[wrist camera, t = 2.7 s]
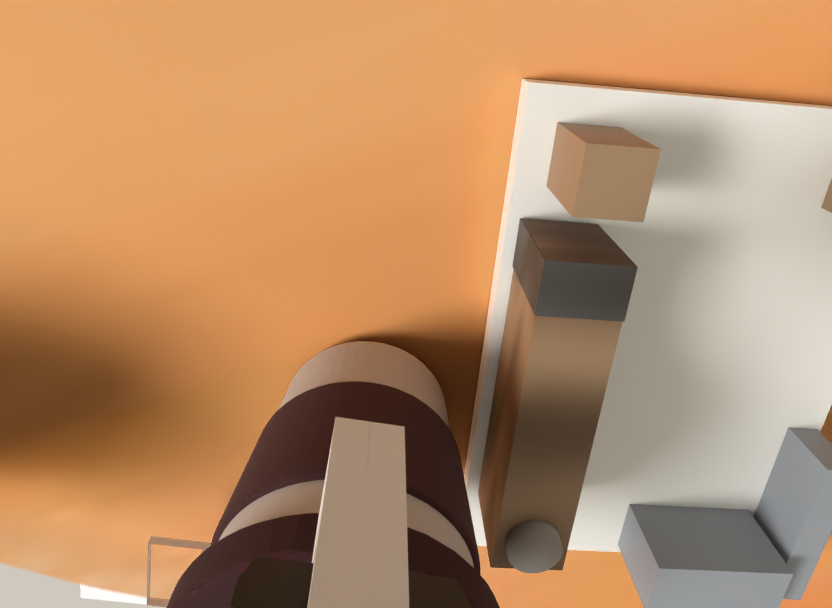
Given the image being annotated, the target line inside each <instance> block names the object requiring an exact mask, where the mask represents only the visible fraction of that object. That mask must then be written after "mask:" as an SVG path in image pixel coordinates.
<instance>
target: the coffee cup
mask: <svg viewBox="0 0 832 608" xmlns="http://www.w3.org/2000/svg"><path fill="white" fill-rule="evenodd" d="M335 417H341V418H348V419H355V420H362V421H369V422H376V423H383V424H390V425H397V426H404V427H405V463H406V502H407V540H408V573H415V574H424V575H432V576H440V577H449V578H456V580H457V582H458V583H459V585H460V587H461V589H462V591H463V592H464V594H465V596H466V598H467V599H468V601H469V603H470V608H500V607H499V605H498V603H497V601H496V599H495V596H494V594H493V592H492V591H491V589H490V587H489V586H488V584H487V583H486V582H485V580H484V579H483V578H482V577H481V576H480V561H479V554H478V549H477V543H476V538H475V533H474V527H473V522H472V517H471V511H470V506H469V501H468V496H467V490H466V485H465V480H464V474H463V469H462V464H461V458H460V454H459V450H458V447H457V444H456V441H455V439H454V437H453V435H452V433H451V431H450V427H449V421H448V415H447V410H446V404H445V399H444V395H443V392H442V390H441V387H440V385H439V383H438V382H437V380H436V378H435V376H434V375H433V374H432V372H431V371H430V370H429V369H428V368H427V367H426V366H425V365H424V364H423V363H422V362H421V361H420V360H418V359H417V358H416V357H414V356H413V355H411V354H409V353H408V352H406V351H404V350H402V349H400V348H397V347H394V346H391V345H388V344H384V343H379V342H371V341H354V342H348V343H343V344H339V345H336V346H332V347H330V348H328V349H326V350H324V351H322V352H320V353H318V354H316V355H315V356H314V357H312V358H311V359H310V360H308V361H307V362H306V363H305V364H304V365H303V366H302V367H301V368H300V369H299V371H298V372H297V373H296V375H295V376H294V378H293V380H292V381H291V384H290V386H289V388H288V390H287V392H286V394H285V397H284V399H283V401H282V403H281V405H280V408H279V410H278V411H277V412H276V413H275V414H274V415H273V416H272V418H271V419H270V420H269V422H268V423H267V425H266V426H265V428H264V430H263V432H262V434H261V436H260V438H259V440H258V442H257V444H256V446H255V448H254V451H253V453H252V455H251V457H250V459H249V461H248V463H247V465H246V467H245V469H244V472H243V474H242V476H241V478H240V480H239V482H238V484H237V486H236V488H235V491H234V493H233V495H232V497H231V499H230V501H229V503H228V505H227V507H226V510H225V512H224V514H223V516H222V518H221V520H220V522H219V524H218V526H217V528H216V531H215V533H214V536H213V539H212V543H211V546H210V547H209V548H207V549H206V550H205V551H204V552H203V553H202V554H201V555H200V556H199V557H198V558H196V559H195V560H194V561H193V562H192V563H191V565H190V566H189V567H188V568H187V570H186V571H185V572H184V574H183V575H182V576H181V578H180V580H179V581H178V583H177V585H176V587H175V589H174V591H173V593H172V595H171V598H170V600H169V603H168V605H167V608H230V605H231V601H232V598H233V594H234V590H235V587H236V583H237V579H238V578H239V577H240V575H241V574H242V573H243V572H244V571H245V569H246V568H247V567H248V566H249V565H250V563H251V562H252V561H253V560H254V559H255V557H256V556H258V557H266V558H275V559H283V560H291V561H300V562H308V563H312V558H313V551H314V544H315V538H316V531H317V524H318V517H319V511H320V505H321V500H322V494H323V488H324V482H325V476H326V470H327V464H328V458H329V452H330V446H331V441H332V435H333V429H334V423H335Z"/></svg>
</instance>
